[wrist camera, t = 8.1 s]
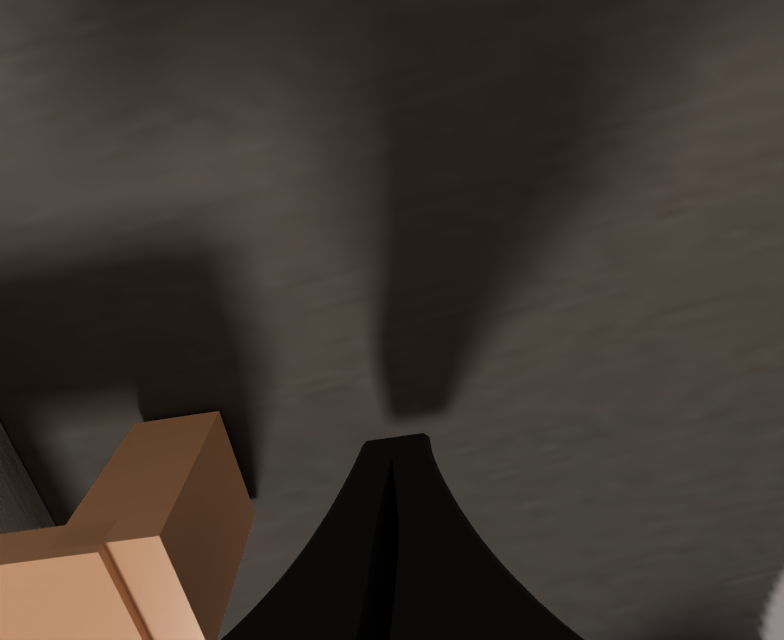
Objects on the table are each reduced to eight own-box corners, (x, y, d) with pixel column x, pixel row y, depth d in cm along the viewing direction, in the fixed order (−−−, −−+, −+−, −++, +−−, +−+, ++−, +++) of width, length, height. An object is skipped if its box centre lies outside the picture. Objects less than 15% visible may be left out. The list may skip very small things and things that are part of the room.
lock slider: (254, 513, 15) (209, 664, 11) (-54, 553, 16) (-190, 709, 12) (219, 410, 14) (155, 544, 10) (-115, 460, 15) (-287, 602, 11)
